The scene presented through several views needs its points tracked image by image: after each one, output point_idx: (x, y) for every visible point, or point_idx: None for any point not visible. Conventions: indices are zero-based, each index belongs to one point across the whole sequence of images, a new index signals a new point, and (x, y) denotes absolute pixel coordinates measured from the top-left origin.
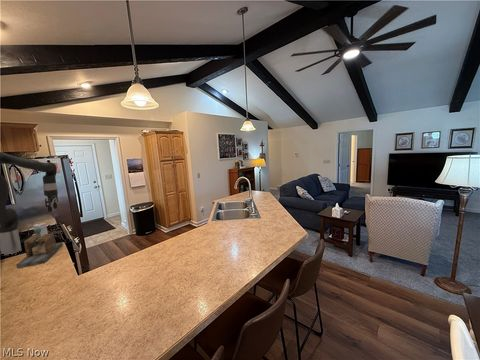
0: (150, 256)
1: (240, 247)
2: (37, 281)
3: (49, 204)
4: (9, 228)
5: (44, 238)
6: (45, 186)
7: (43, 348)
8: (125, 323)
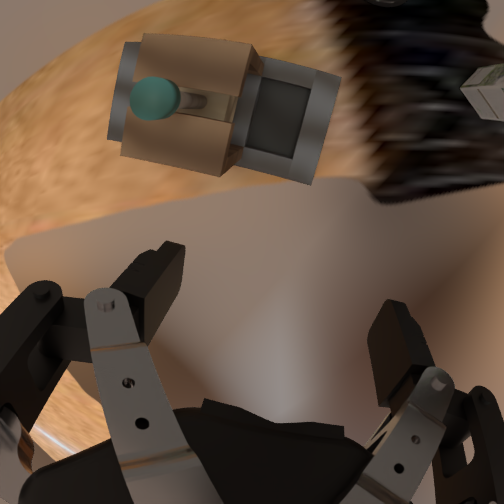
0: None
1: (63, 449)
2: (14, 157)
3: (28, 363)
4: None
5: (127, 142)
6: None
7: None
8: None
